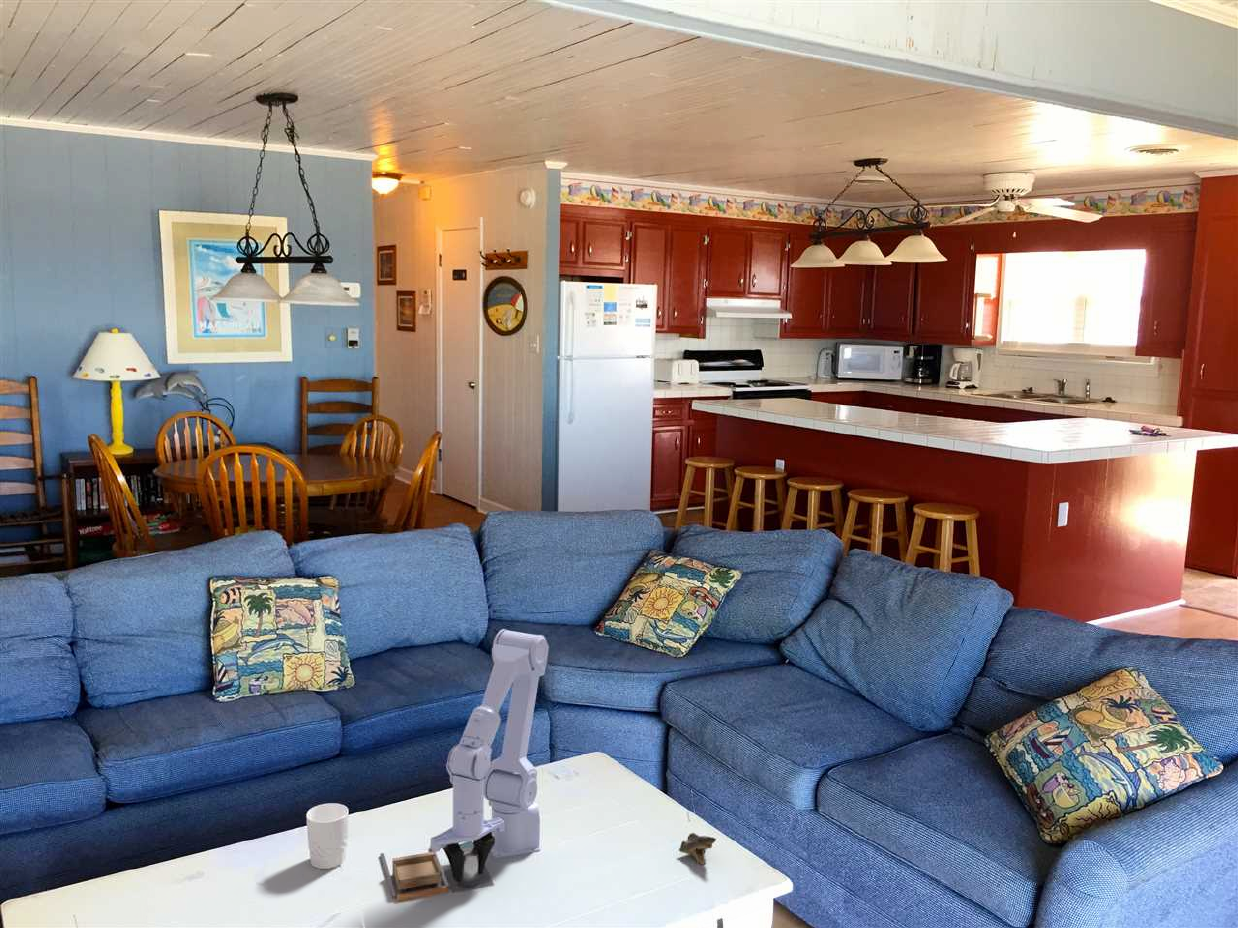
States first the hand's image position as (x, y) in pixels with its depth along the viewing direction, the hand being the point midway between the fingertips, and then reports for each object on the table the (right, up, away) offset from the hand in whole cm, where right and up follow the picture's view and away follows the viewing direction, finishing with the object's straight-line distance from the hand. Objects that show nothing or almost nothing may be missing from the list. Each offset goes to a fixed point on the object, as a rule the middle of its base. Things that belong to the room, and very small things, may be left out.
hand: (467, 875), depth 191 cm
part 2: (0, -1, 0) cm, 1 cm away
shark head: (+45, -2, +11) cm, 46 cm away
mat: (0, -1, +3) cm, 3 cm away
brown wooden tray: (-10, -2, 0) cm, 10 cm away
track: (-11, -1, +3) cm, 12 cm away
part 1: (-1, -1, +6) cm, 6 cm away
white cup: (-29, 0, +7) cm, 29 cm away
